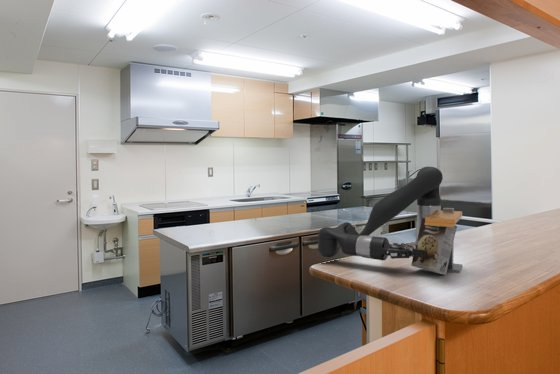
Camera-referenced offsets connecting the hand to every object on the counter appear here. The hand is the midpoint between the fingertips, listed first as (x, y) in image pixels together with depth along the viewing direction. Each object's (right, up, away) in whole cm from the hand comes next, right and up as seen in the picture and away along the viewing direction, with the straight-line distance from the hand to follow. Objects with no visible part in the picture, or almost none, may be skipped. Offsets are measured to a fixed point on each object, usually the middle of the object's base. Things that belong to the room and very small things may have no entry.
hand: (426, 254), depth 117 cm
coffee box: (+2, -6, +2) cm, 7 cm away
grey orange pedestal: (+7, -7, +2) cm, 10 cm away
